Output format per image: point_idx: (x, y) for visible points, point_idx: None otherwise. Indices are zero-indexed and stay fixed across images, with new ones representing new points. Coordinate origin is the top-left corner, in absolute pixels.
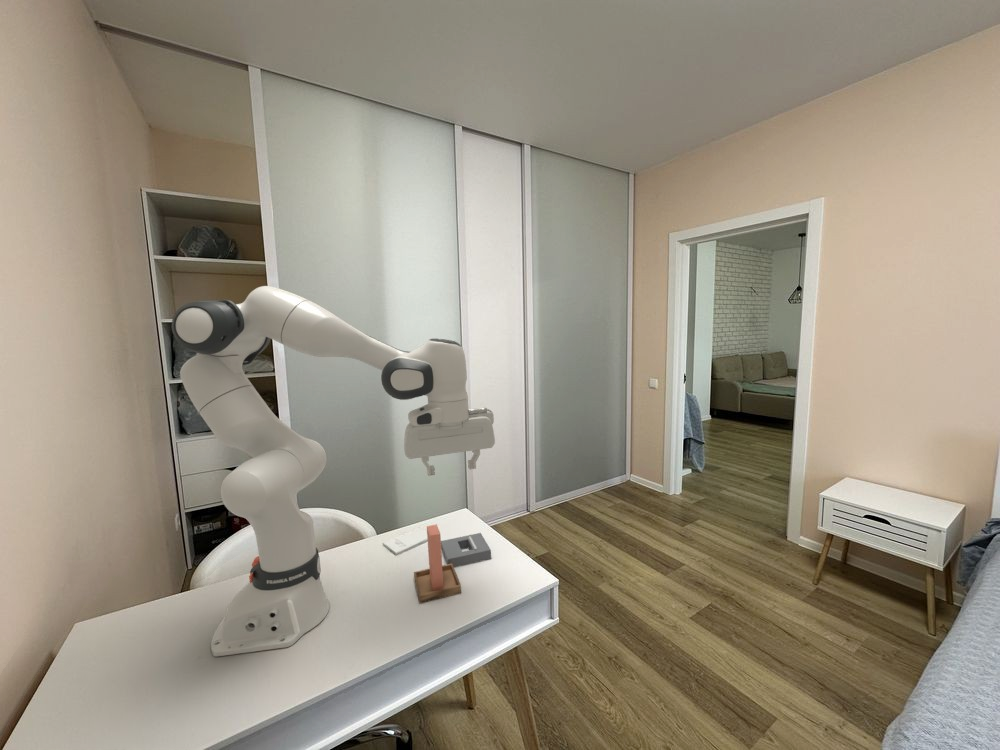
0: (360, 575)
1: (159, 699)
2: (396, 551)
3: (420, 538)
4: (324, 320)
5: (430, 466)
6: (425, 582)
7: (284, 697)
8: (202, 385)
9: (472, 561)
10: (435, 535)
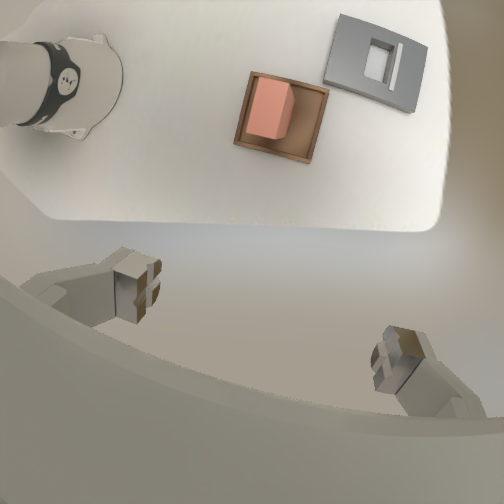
0: (176, 22)
1: (19, 155)
2: None
3: None
4: None
5: (117, 287)
6: None
7: (83, 209)
8: None
9: (372, 98)
10: (261, 135)
